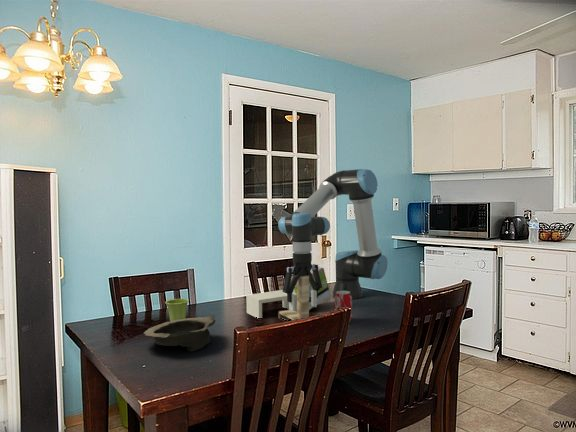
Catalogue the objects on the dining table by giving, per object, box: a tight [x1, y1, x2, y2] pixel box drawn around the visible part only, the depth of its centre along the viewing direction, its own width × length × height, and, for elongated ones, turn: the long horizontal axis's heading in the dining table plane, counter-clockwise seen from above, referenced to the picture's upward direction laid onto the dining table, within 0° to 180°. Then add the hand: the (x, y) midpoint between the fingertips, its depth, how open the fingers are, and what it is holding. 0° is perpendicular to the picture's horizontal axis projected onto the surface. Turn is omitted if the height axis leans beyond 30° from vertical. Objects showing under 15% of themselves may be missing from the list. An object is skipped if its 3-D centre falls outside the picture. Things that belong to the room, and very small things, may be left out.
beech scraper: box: [277, 276, 310, 321], centre depth 181 cm, size 16×6×20 cm, turn 31°
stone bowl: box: [143, 315, 216, 353], centre depth 155 cm, size 25×25×9 cm
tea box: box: [291, 266, 332, 311], centre depth 202 cm, size 15×10×15 cm, turn 130°
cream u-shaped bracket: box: [245, 289, 297, 319], centre depth 197 cm, size 20×12×8 cm, turn 121°
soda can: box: [334, 291, 353, 322], centre depth 181 cm, size 7×7×12 cm
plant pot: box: [165, 298, 189, 322], centre depth 185 cm, size 9×9×9 cm
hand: (303, 308), depth 175 cm, fingers open, 10 cm apart
